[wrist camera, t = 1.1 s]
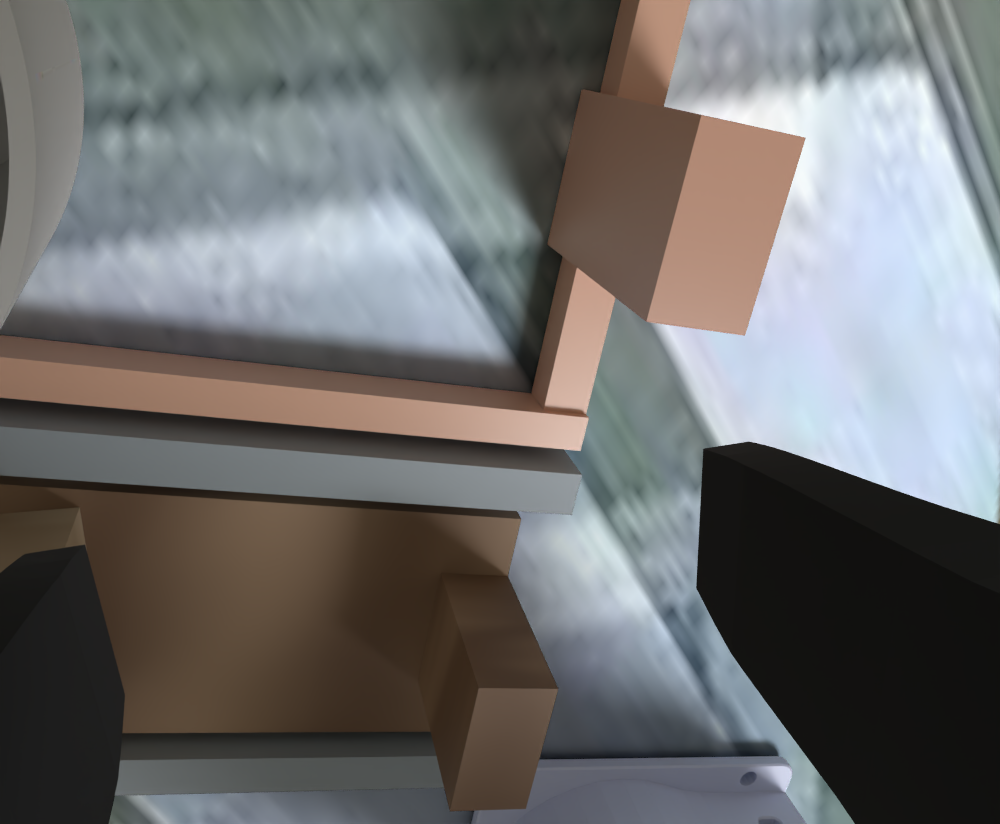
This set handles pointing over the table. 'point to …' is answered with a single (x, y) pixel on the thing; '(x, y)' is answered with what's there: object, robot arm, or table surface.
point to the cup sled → (579, 289)
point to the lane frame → (282, 471)
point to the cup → (35, 133)
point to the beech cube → (38, 532)
